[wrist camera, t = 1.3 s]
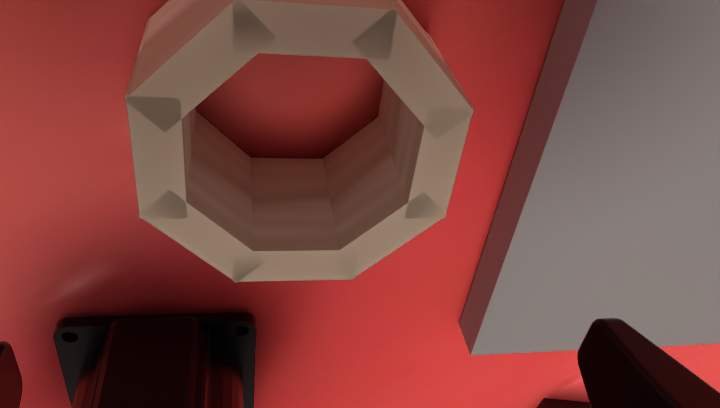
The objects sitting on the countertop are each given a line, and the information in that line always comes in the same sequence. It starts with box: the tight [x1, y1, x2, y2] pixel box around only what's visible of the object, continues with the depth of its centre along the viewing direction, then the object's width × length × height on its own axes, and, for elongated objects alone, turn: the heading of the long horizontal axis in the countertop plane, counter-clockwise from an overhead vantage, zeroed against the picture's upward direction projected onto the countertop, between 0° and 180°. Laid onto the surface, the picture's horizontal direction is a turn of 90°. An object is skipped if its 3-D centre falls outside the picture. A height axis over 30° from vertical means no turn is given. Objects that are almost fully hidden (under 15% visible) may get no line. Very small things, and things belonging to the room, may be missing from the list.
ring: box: [124, 0, 474, 283], centre depth 15 cm, size 7×7×4 cm
